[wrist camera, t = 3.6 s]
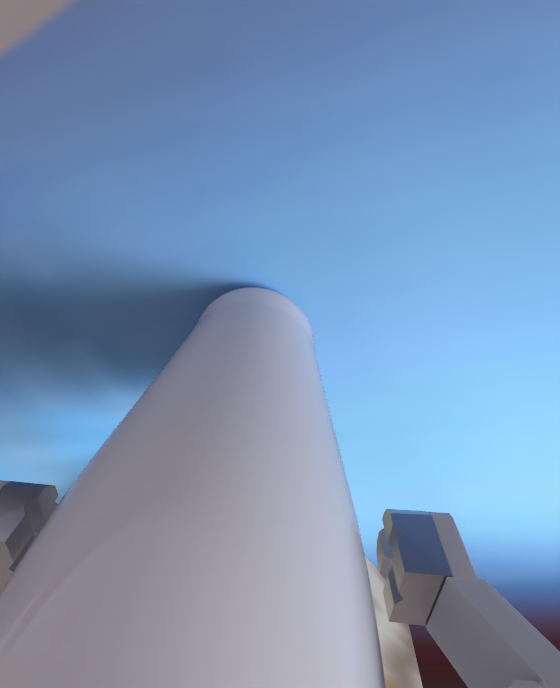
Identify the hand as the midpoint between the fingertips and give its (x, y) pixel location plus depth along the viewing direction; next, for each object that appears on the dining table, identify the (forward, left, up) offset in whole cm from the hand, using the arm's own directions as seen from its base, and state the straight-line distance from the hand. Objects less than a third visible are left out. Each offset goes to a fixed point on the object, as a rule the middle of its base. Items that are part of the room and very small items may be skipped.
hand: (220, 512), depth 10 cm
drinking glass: (0, 0, -10) cm, 10 cm away
